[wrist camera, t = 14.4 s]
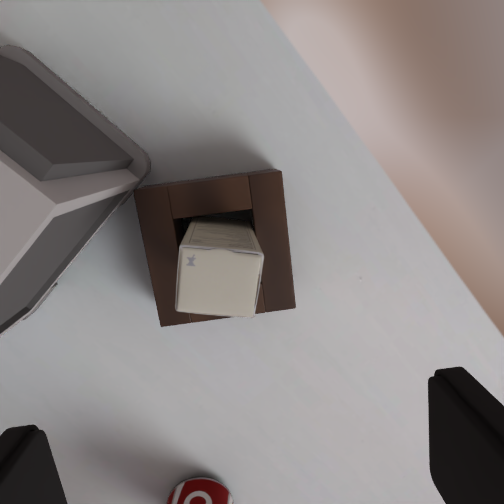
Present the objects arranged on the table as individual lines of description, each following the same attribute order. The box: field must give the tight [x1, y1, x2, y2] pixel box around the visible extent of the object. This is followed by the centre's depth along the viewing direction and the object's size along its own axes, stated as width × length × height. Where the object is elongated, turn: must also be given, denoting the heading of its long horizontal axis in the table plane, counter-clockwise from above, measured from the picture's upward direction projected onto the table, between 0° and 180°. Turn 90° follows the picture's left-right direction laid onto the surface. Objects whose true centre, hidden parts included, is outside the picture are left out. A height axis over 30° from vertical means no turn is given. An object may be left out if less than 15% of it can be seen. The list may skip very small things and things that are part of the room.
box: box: [175, 216, 264, 318], centre depth 28 cm, size 5×4×11 cm
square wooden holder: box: [133, 169, 296, 327], centre depth 32 cm, size 11×11×4 cm
